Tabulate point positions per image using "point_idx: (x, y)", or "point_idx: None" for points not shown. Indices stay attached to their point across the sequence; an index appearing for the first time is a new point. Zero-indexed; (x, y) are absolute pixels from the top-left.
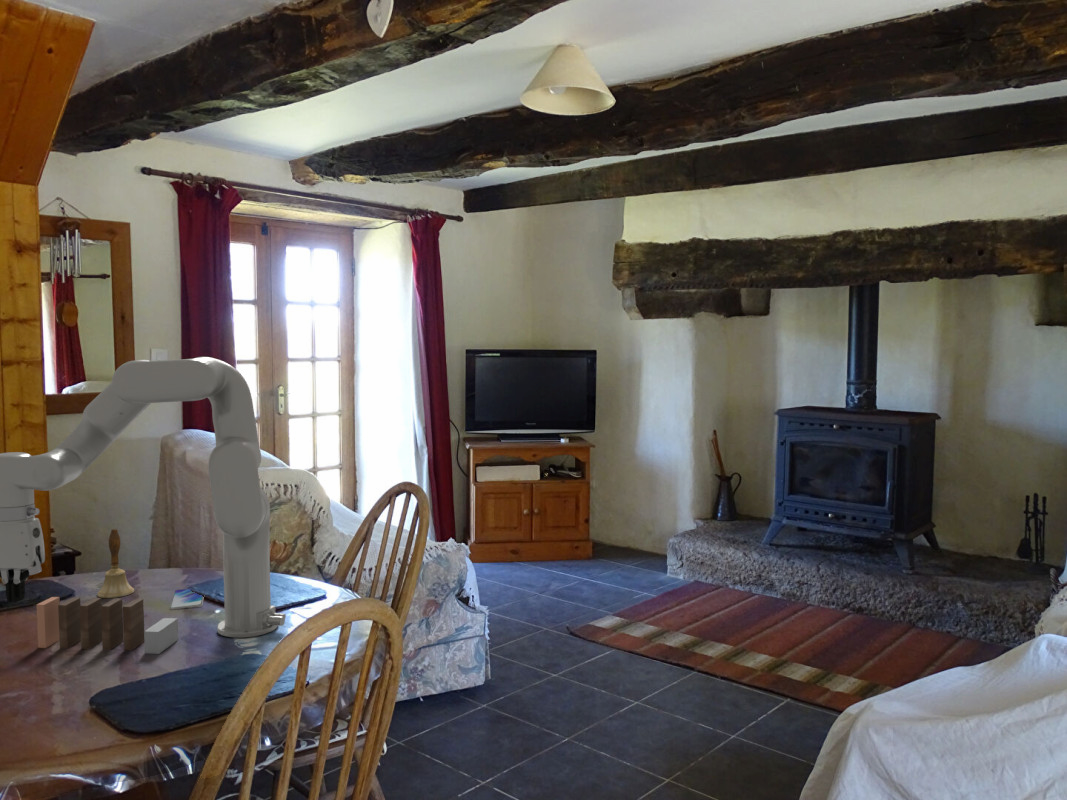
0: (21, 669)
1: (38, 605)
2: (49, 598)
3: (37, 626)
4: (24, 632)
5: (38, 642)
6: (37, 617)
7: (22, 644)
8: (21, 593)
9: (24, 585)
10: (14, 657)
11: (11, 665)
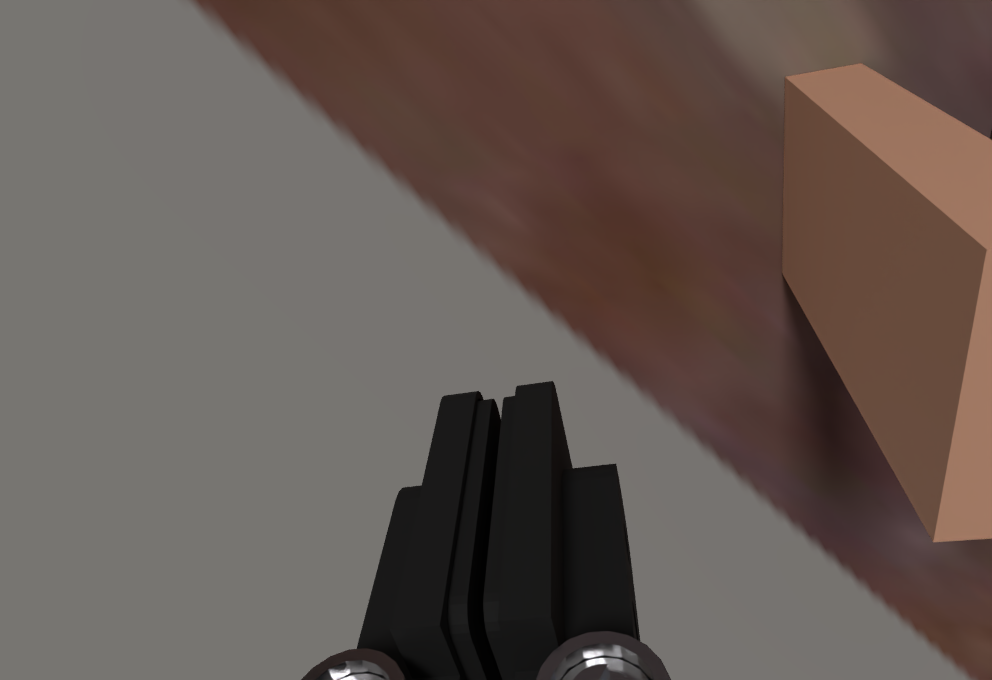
0: (906, 545)
1: (960, 534)
2: (984, 323)
3: (839, 372)
4: (377, 3)
5: (796, 292)
6: (874, 427)
7: (604, 246)
8: (628, 552)
9: (628, 590)
10: (733, 432)
11: (805, 517)
